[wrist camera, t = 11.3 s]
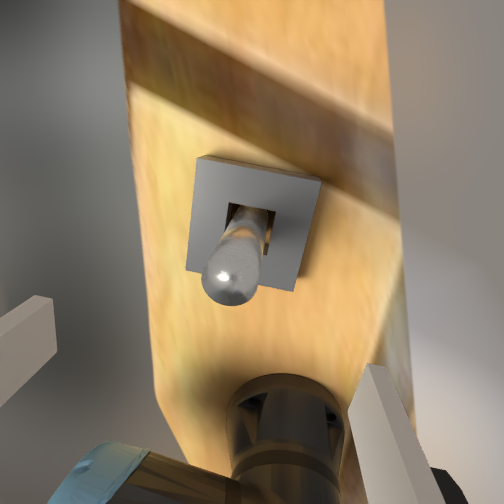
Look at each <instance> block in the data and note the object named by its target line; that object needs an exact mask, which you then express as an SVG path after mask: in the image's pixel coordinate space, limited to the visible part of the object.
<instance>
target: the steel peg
mask: <svg viewBox="0 0 504 504" xmlns="http://www.w3.org/2000/svg"><path fill="white" fill-rule="evenodd" d="M267 225H268V214H267V211H266V209H261V208H256V207H251V206H246V205H241V206H240V207H239V208H238V210H237V211H236V213H235V215H234V217H233V218H232V220H231V222H230V224H229V225H228V227H227V229H226V231H225V232H224V234H223V236H222V238H221V239H220V241H219V243H218V245H217V246H216V248H215V250H214V252H213V253H212V255H211V257H210V259H209V260H208V262H207V264H206V266H205V267H204V269H203V272H202V278H201V280H202V286H203V288H204V290H205V292H206V293H207V295H208V296H209V297H210V298H211V299H212V300H214V301H215V302H217V303H219V304H222V305H226V306H237V305H241V304H244V303H246V302H247V301H249V300H250V299H251V298H252V297H253V296H254V294H255V292H256V290H257V286H258V280H259V274H260V268H261V261H262V255H263V249H264V243H265V237H266V231H267Z"/></svg>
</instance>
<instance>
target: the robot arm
mask: <svg viewBox="0 0 504 504" xmlns="http://www.w3.org/2000/svg"><path fill="white" fill-rule="evenodd" d="M56 352H57V344H56V332H55V321H54V309H53V300H52V299H50V298H45V297H41V296H36V295H34V296H33V297H31V298H30V299H28V300H27V301H25V302H24V303H22V304H21V305H19V306H18V307H16V308H15V309H13V310H12V311H10V312H9V313H7V314H6V315H4V316H3V317H1V318H0V407H1V406H2V405H3V404H4V403H5V402H6V401H7V400H8V399H9V398H10V397H11V396H12V395H13V394H14V393H15V392H16V391H17V390H18V389H19V388H20V387H21V386H23V385H24V383H25V382H27V381H28V380H29V379H30V377H32V376H33V375H34V374H35V373H36V372H37V371H38V370H39V369H40V368H41V367H42V366H43V365H44V364H45V363H46V362H47V361H48V360H49V359H50V358H51V357H52V356H53V355H54V354H55V353H56ZM348 417H349V421H350V425H351V430H352V434H353V438H354V443H355V447H356V451H357V456H358V460H359V464H360V469H361V473H362V477H363V482H364V486H365V490H366V495H367V499H368V503H369V504H468V502H467V500H466V498H465V496H464V494H463V492H462V490H461V489H460V487H459V486H458V485H457V484H456V482H455V481H454V480H453V479H452V477H451V476H450V475H449V474H448V472H447V471H446V470H442V469H437V468H432V467H430V466H429V464H428V462H427V460H426V457H425V455H424V453H423V450H422V448H421V446H420V444H419V441H418V439H417V437H416V434H415V432H414V430H413V427H412V425H411V423H410V421H409V418H408V416H407V414H406V412H405V409H404V407H403V405H402V402H401V400H400V398H399V396H398V393H397V391H396V389H395V386H394V384H393V382H392V380H391V377H390V375H389V373H388V370H387V368H386V367H383V366H378V365H373V364H368V363H367V365H366V368H365V370H364V372H363V375H362V377H361V380H360V382H359V385H358V387H357V390H356V392H355V394H354V397H353V399H352V402H351V404H350V407H349V409H348ZM226 434H227V441H228V447H229V454H230V460H231V467H232V476H231V478H228V477H225V476H222V475H219V474H216V473H213V472H210V471H207V470H204V469H201V468H198V467H196V466H193V465H190V464H186V463H184V462H181V461H178V460H175V459H172V458H169V457H166V456H163V455H160V454H157V453H154V452H151V451H150V450H151V449H149V448H144V449H141V448H138V447H134V446H130V445H127V444H123V443H119V442H114V441H109V442H104V443H102V444H99V445H98V446H96V447H94V448H93V449H92V450H91V451H89V452H88V453H87V454H86V455H85V456H84V457H83V458H82V459H81V460H80V461H79V462H78V463H77V465H76V466H75V467H74V468H73V469H72V471H71V472H70V473H69V474H68V476H67V477H66V478H65V480H64V481H63V482H62V483H61V485H60V486H59V488H58V489H57V490H56V492H55V493H54V495H53V496H52V497H51V499H50V500H49V501H48V503H47V504H342V502H341V496H340V489H339V483H338V476H339V469H340V463H341V456H342V449H343V443H344V434H345V432H344V423H343V418H342V413H341V409H340V407H339V404H338V402H337V401H336V399H335V398H334V396H333V395H332V394H331V393H330V392H329V391H328V390H327V389H325V388H324V387H323V386H321V385H320V384H318V383H316V382H314V381H312V380H309V379H307V378H304V377H300V376H296V375H289V374H273V375H266V376H262V377H259V378H256V379H253V380H251V381H249V382H247V383H246V384H244V385H243V386H242V387H240V388H239V389H238V390H237V391H236V392H235V394H234V395H233V397H232V399H231V401H230V403H229V407H228V413H227V418H226Z"/></svg>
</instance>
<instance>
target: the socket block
mask: <svg viewBox="0 0 504 504" xmlns="http://www.w3.org/2000/svg"><path fill="white" fill-rule="evenodd" d="M321 183H322V182H321V180H320V179H319V178H318V177H315V176H310V175H305V174H300V173H294V172H289V171H284V170H279V169H274V168H268V167H263V166H258V165H253V164H248V163H242V162H237V161H232V160H227V159H222V158H216V157H211V156H206V155H204V156H201V157H198V158H197V162H196V172H195V182H194V192H193V202H192V211H191V221H190V231H189V241H188V251H187V261H186V270H187V271H192V272H197V273H202V272H203V269H204V267H205V266H206V264H207V262H208V260H209V259H210V257H211V255H212V253H213V252H214V250H215V248H216V246H217V245H218V243H219V241H220V239H221V238H222V236H223V234H224V232H225V231H226V229H227V227H228V225H229V222H230V216H231V209H232V203H235V204H240V205H246V206H251V207H256V208H261V209H266V210H271V211H275V216H274V220H273V225H272V230H271V235H270V239H269V244H264V249H263V255H262V261H261V268H260V274H259V280H258V285H262V286H267V287H272V288H277V289H282V290H287V291H292V292H293V291H294V287H295V283H296V279H297V275H298V271H299V268H300V264H301V260H302V256H303V252H304V248H305V245H306V241H307V237H308V233H309V229H310V225H311V222H312V218H313V214H314V210H315V206H316V202H317V199H318V195H319V191H320V187H321Z"/></svg>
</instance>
